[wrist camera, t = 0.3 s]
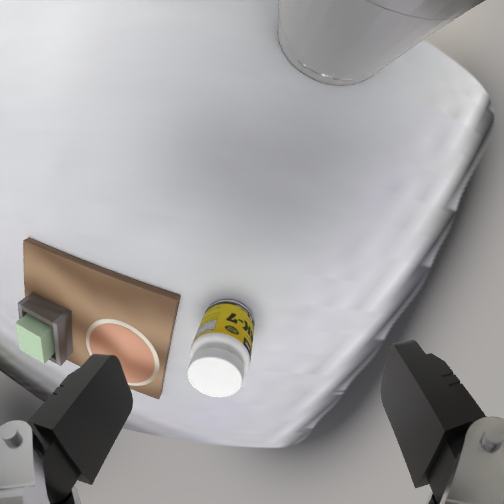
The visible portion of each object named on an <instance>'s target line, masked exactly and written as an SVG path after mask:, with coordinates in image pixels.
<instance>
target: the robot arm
mask: <svg viewBox="0 0 504 504" xmlns="http://www.w3.org/2000/svg"><path fill="white" fill-rule="evenodd" d="M483 1H485V0H279V15H278V38H279V43H280V45H281V48H282V50H283V53H284V54H285V55H286V57H287V58H288V60H289V61H290V62H291V63H292V64H293V65H294V66H295V67H296V68H297V69H298V70H300V71H301V72H303V73H304V74H306V75H307V76H309V77H311V78H313V79H315V80H318V81H320V82H324V83H328V84H333V85H350V84H356V83H359V82H362V81H364V80H366V79H368V78H369V77H371V76H372V75H374V74H375V73H377V72H378V71H379V70H381V69H382V68H383V67H385V66H386V65H388V64H389V63H391V62H392V61H394V60H395V59H396V58H398V57H399V56H401V55H402V54H403V53H405V52H406V51H408V50H409V49H411V48H412V47H413V46H415V45H416V44H418V43H419V42H421V41H422V40H424V39H425V38H427V37H428V36H430V35H431V34H433V33H434V32H435V31H437V30H439V29H440V28H442V27H443V26H445V25H446V24H448V23H449V22H451V21H453V20H454V19H455V18H457V17H459V16H460V15H462V14H463V13H465V12H466V11H468V10H470V9H471V8H473V7H475V6H476V5H478V4H480V3H482V2H483ZM381 398H382V403H383V406H384V408H385V411H386V413H387V415H388V418H389V421H390V423H391V425H392V428H393V430H394V433H395V436H396V438H397V441H398V443H399V446H400V448H401V451H402V453H403V456H404V459H405V462H406V464H407V467H408V469H409V472H410V475H411V478H412V481H413V483H414V486H415V488H418V487H421V486H424V485H428V484H430V487H431V489H432V493H431V494H430V496H429V498H428V500H427V503H426V504H504V419H503V418H500V417H486V416H485V414H484V413H483V411H482V410H481V409H480V407H479V406H478V405H477V403H476V402H475V400H474V399H473V398H472V396H471V395H470V394H469V392H468V391H467V390H466V389H465V387H464V386H463V384H460V380H459V379H458V378H457V377H456V375H453V371H452V370H451V369H450V368H449V366H448V365H447V364H446V362H444V361H443V360H441V359H440V358H438V357H436V356H435V355H433V354H425V352H424V351H423V350H422V348H421V347H420V346H419V345H418V343H417V342H416V341H415V340H410V341H405V342H399V343H393V344H390V345H389V346H388V348H387V353H386V360H385V367H384V373H383V379H382V385H381ZM132 405H133V398H132V393H131V390H130V388H129V385H128V383H127V380H126V377H125V374H124V372H123V369H122V366H121V363H120V361H119V359H118V357H116V356H115V355H105V354H92V355H91V356H90V357H89V358H88V359H87V361H86V362H85V363H84V364H83V365H82V366H81V367H80V368H79V369H77V370H76V371H74V372H72V373H71V374H69V375H68V376H67V377H66V378H65V379H64V381H63V382H62V383H61V384H60V387H57V388H56V390H55V391H54V392H53V395H52V394H51V395H50V396H49V398H48V399H47V400H46V401H45V402H44V403H43V404H42V406H41V407H40V408H39V409H38V410H37V412H36V413H35V414H34V415H33V416H32V417H31V419H30V420H29V421H28V422H27V423H26V422H23V421H18V420H15V421H10V422H7V423H6V424H3V425H2V426H1V427H0V504H81V501H80V498H79V494H78V491H77V489H76V487H75V486H74V484H75V483H76V481H77V480H79V481H82V482H85V483H88V484H91V485H92V484H93V482H94V480H95V478H96V476H97V474H98V472H99V470H100V468H101V466H102V464H103V463H104V460H105V459H106V457H107V455H108V453H109V451H110V449H111V447H112V446H113V444H114V442H115V440H116V438H117V436H118V434H119V433H120V431H121V429H122V427H123V425H124V423H125V422H126V420H127V418H128V416H129V414H130V412H131V410H132Z"/></svg>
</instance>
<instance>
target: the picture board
mask: <svg viewBox="0 0 504 504" xmlns="http://www.w3.org/2000/svg"><path fill="white" fill-rule="evenodd" d="M23 256H24V285H25V298H24V299H23V300H21V301H20V302H18V311H19V319H21V318H22V317H23V316H25V315H26V314H27V313H28V314H30V315H32V316H34V317H36V318H37V319H39V320H41V321H43V322H45V323H47V324H48V325H50V326H52V327H53V335H54V346H55V353H54V354H53V355H52V356H51V357H50V358H49V360H51V361H53V362H55V363H56V364H58V365H60V366H61V365H62V364H63V363H64V362H65V361H66V359H67V360H68V361H70V362H72V363H74V364H76V365H78V366H80V367H81V366H82V365H83V364H84V363H85V362H86V361H87V359H88V358H89V357H90V356H91V355H92V354H105V355H115V356H116V357H118V359H119V361H120V363H121V366H122V369H123V372H124V374H125V377H126V380H127V383H128V385H129V388H130V389H133V390H135V391H138V392H140V393H143V394H146V395H148V396H151V397H154V398H156V399H159V398H160V396H161V392H162V387H163V381H164V375H165V370H166V364H167V359H168V354H169V348H170V343H171V338H172V333H173V328H174V324H175V319H176V314H177V309H178V305H179V300H180V295H177V294H174V293H171V292H169V291H166V290H163V289H160V288H157V287H154V286H151V285H148V284H145V283H143V282H140V281H137V280H134V279H131V278H129V277H126V276H123V275H121V274H118V273H115V272H112V271H110V270H107V269H105V268H102V267H99V266H97V265H94V264H92V263H89V262H86V261H84V260H81V259H79V258H76V257H74V256H71V255H69V254H66V253H64V252H62V251H59V250H57V249H54V248H52V247H50V246H47V245H45V244H43V243H40V242H38V241H36V240H33V239H31V238H27V239H25V240H24V243H23Z"/></svg>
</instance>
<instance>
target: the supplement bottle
mask: <svg viewBox="0 0 504 504" xmlns="http://www.w3.org/2000/svg"><path fill="white" fill-rule="evenodd" d="M253 333H254V318H253V315H252V313H251V312H250V311H249V309H248V308H247V307H246V306H244V305H243V304H241V303H239V302H237V301H234V300H221V301H217V302H215V303H213V304H212V305H211V306H210V307H209V308H208V309H207V310H206V312H205V315H204V317H203V319H202V322H201V324H200V326H199V329H198V331H197V334H196V336H195V339H194V341H193V343H192V346H191V349H190V360H191V361H190V365H189V368H188V378H189V381H190V383H191V384H192V385H193V387H195V388H196V389H197V390H198V391H200V392H201V393H203V394H206V395H208V396H213V397H226V396H230V395H232V394H234V393H236V392H237V391H238V390H239V389H240V387H241V385H242V381H243V377H244V374H245V373H246V372H247V370H248V368H249V365H250V360H251V350H252V342H253Z"/></svg>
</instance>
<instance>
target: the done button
mask: <svg viewBox="0 0 504 504" xmlns="http://www.w3.org/2000/svg"><path fill="white" fill-rule="evenodd" d="M16 329H17V335H18V341H19V346H20V350H22V351H24V352H25V353H27V354H28V355H30V356H32V357H33V358H35V359H37V360H38V361H40V362H42V363H44V364H45V363H46V362H47V360H48V359H49V358H50V357H51V356H52V355H53V354H54V353H55V346H54V335H53V327H52V326H50V325H48V324H47V323H45V322H43V321H41V320H39V319H37V318H36V317H34V316H32V315H30V314H28V313H27V314H26V315H25V316H23V317H22V318H21V319H20V320H18V321H17V322H16Z"/></svg>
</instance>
